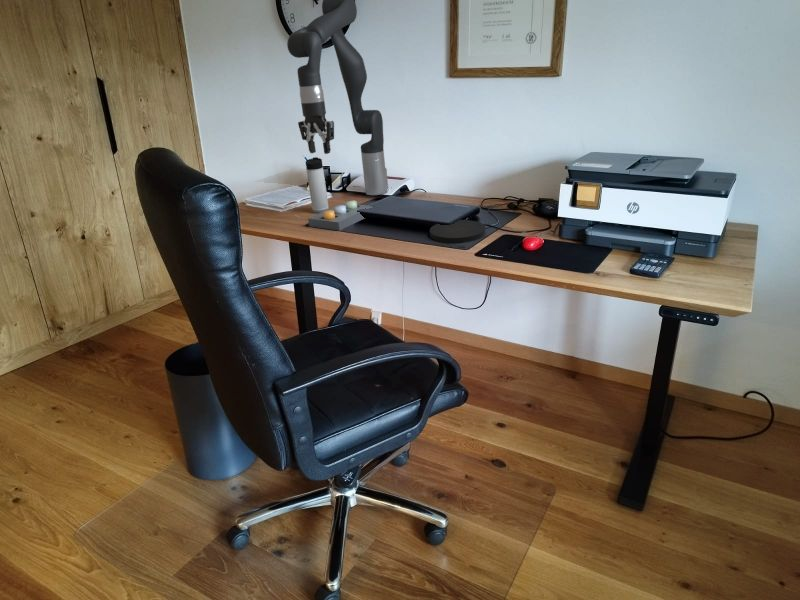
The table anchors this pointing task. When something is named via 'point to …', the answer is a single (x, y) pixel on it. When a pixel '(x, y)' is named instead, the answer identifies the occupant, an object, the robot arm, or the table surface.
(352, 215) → the button panel
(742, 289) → the table surface
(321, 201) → the travel mug
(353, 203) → the sage button
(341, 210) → the blue-grey button
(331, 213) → the orange button
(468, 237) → the wireless charger
